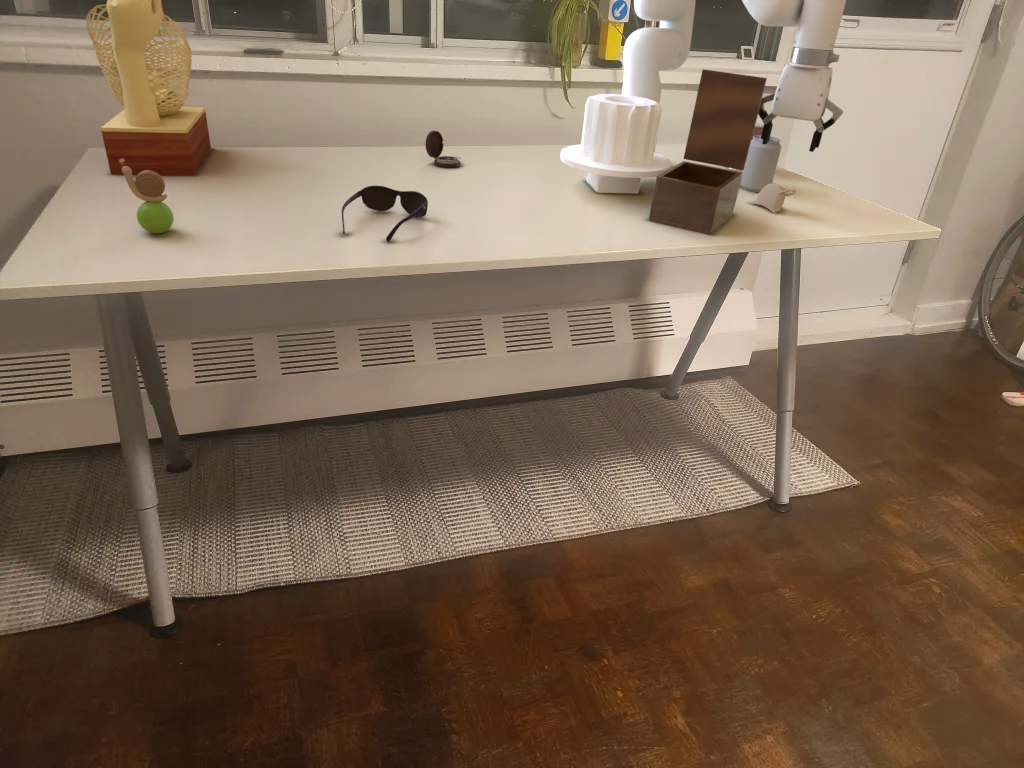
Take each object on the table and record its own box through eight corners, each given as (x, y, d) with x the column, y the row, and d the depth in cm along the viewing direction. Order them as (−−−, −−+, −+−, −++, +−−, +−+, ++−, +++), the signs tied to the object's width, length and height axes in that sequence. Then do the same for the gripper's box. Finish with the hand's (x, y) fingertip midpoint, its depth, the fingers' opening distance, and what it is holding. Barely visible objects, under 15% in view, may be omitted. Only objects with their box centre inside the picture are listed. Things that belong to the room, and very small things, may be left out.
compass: (450, 169, 166) (451, 137, 162) (423, 163, 169) (423, 131, 165) (470, 163, 172) (471, 132, 168) (443, 157, 175) (444, 126, 171)
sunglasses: (432, 217, 135) (433, 191, 132) (403, 244, 122) (403, 216, 119) (366, 208, 137) (365, 182, 135) (330, 233, 124) (328, 205, 121)
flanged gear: (682, 204, 154) (700, 113, 144) (571, 202, 150) (582, 108, 140) (645, 173, 175) (659, 92, 165) (547, 171, 171) (555, 87, 161)
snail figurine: (141, 226, 121) (126, 154, 114) (180, 227, 121) (167, 156, 115) (129, 237, 116) (112, 163, 110) (169, 238, 117) (156, 165, 110)
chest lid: (766, 78, 137) (772, 78, 142) (702, 69, 143) (710, 69, 147) (742, 170, 145) (749, 167, 150) (683, 158, 151) (691, 156, 155)
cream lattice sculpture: (194, 177, 147) (163, -16, 128) (100, 176, 143) (53, -23, 125) (213, 148, 167) (188, -22, 149) (130, 146, 164) (94, -28, 145)
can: (771, 195, 166) (785, 142, 160) (739, 191, 167) (751, 138, 161) (768, 186, 172) (781, 136, 166) (737, 183, 173) (749, 132, 167)
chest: (710, 234, 138) (720, 189, 133) (648, 220, 143) (656, 176, 138) (732, 214, 151) (742, 172, 146) (675, 201, 156) (683, 160, 151)
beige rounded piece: (764, 202, 160) (771, 178, 158) (792, 213, 154) (798, 189, 151) (751, 203, 159) (757, 179, 156) (778, 215, 152) (784, 190, 150)
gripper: (858, 62, 140) (833, 150, 149) (770, 52, 147) (751, 138, 156) (853, 64, 134) (828, 156, 143) (762, 55, 141) (743, 143, 150)
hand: (788, 147), depth 149 cm, fingers open, 9 cm apart
